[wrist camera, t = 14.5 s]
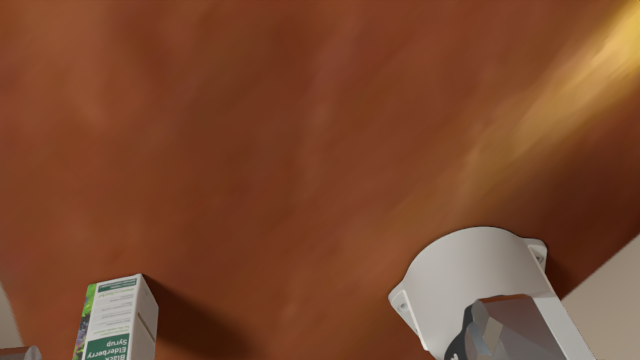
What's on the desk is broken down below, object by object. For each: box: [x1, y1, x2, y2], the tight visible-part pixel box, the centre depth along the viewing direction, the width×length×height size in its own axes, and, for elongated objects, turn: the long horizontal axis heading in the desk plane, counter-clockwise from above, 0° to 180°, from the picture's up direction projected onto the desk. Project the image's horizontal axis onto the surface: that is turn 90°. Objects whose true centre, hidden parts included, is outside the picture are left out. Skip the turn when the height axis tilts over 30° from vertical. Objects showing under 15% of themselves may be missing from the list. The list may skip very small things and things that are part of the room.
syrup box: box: [72, 274, 159, 360], centre depth 56 cm, size 6×6×14 cm
